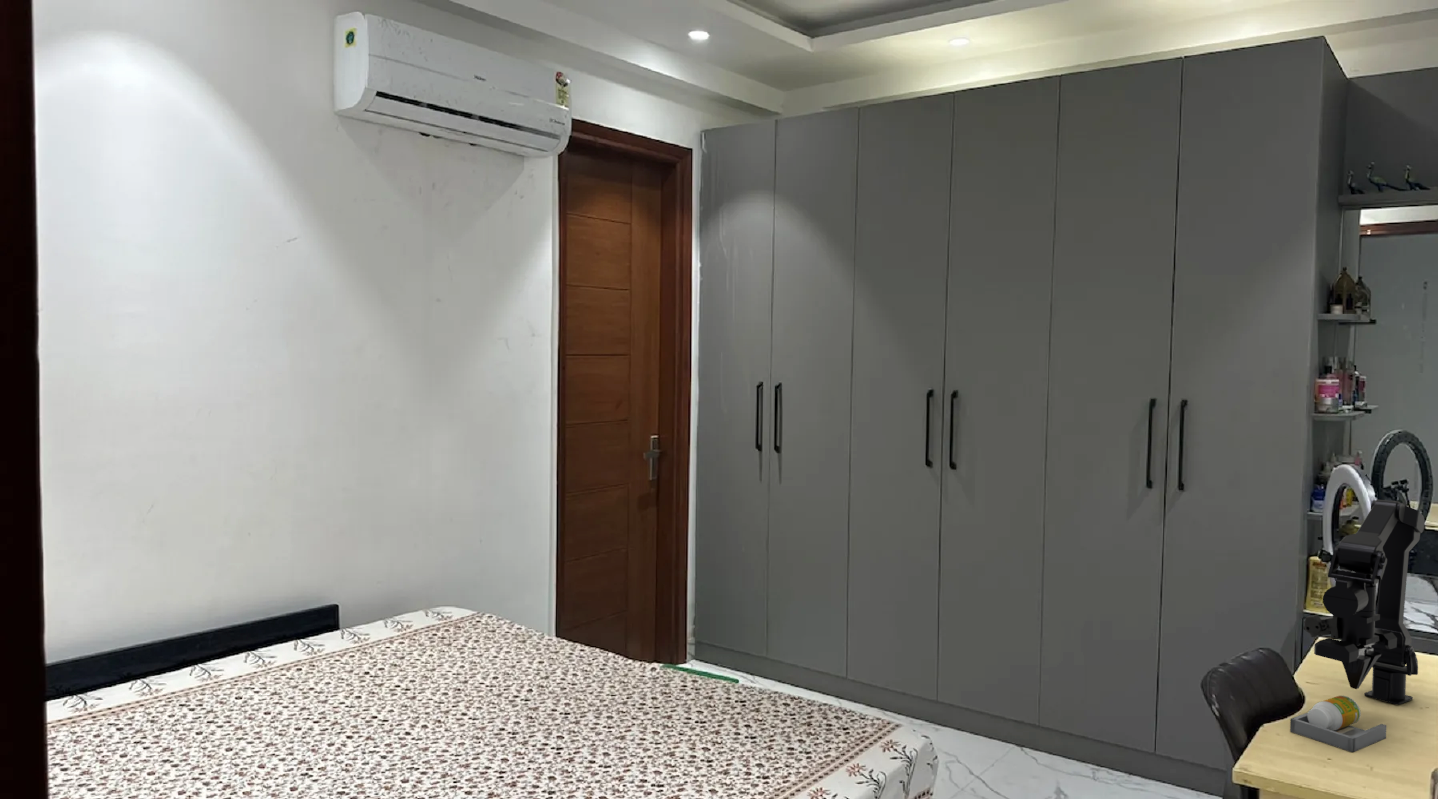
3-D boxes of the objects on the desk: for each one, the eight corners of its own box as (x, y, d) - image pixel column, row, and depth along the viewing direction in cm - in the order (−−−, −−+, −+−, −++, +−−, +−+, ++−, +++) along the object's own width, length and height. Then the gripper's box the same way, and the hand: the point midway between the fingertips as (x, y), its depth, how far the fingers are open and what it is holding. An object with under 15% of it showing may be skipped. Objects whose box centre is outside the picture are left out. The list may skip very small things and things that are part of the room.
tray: (1323, 718, 190) (1324, 706, 190) (1386, 738, 181) (1386, 725, 181) (1290, 731, 184) (1290, 718, 184) (1352, 752, 175) (1353, 738, 174)
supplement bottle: (1365, 706, 184) (1337, 716, 179) (1355, 729, 186) (1326, 740, 181) (1338, 689, 188) (1309, 698, 184) (1328, 712, 190) (1299, 722, 185)
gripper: (1338, 592, 197) (1335, 667, 198) (1287, 604, 187) (1284, 684, 188) (1399, 604, 187) (1396, 684, 188) (1349, 618, 177) (1346, 702, 178)
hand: (1354, 688), depth 186 cm, fingers closed
